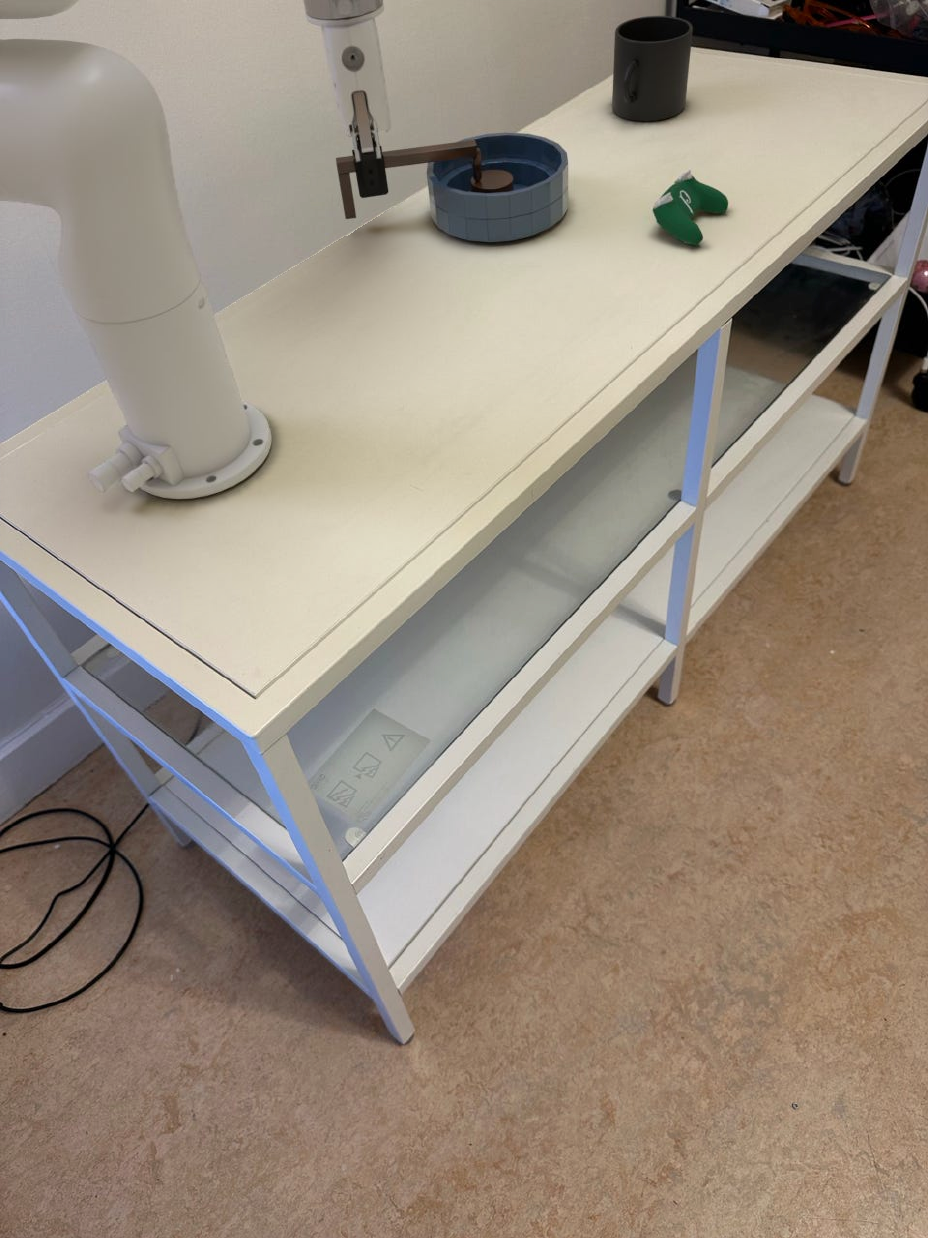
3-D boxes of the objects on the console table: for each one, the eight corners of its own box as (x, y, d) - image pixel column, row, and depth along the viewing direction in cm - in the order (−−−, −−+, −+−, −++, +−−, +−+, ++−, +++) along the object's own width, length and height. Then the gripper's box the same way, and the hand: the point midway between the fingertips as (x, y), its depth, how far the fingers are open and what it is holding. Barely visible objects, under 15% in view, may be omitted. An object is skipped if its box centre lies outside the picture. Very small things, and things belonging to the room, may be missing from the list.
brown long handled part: (509, 184, 103) (508, 128, 99) (517, 203, 100) (516, 146, 96) (344, 206, 103) (334, 151, 98) (346, 226, 100) (337, 169, 95)
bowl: (516, 259, 96) (514, 207, 91) (405, 226, 102) (398, 177, 98) (593, 197, 103) (594, 147, 99) (484, 170, 110) (481, 123, 105)
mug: (589, 123, 116) (590, 44, 109) (632, 88, 122) (636, 11, 115) (656, 135, 112) (662, 54, 105) (697, 98, 118) (705, 19, 111)
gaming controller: (707, 222, 101) (674, 178, 99) (734, 202, 98) (700, 156, 96) (675, 262, 96) (640, 216, 94) (702, 242, 93) (666, 194, 91)
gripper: (389, 15, 80) (414, 218, 94) (374, -34, 91) (399, 156, 105) (306, 27, 80) (344, 228, 94) (301, -23, 90) (335, 165, 104)
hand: (373, 189), depth 99 cm, fingers closed on brown long handled part, 1 cm apart
